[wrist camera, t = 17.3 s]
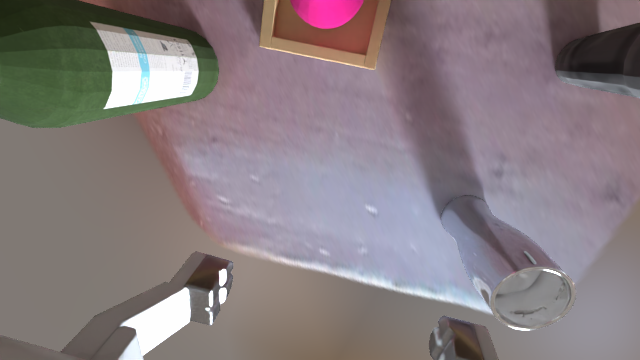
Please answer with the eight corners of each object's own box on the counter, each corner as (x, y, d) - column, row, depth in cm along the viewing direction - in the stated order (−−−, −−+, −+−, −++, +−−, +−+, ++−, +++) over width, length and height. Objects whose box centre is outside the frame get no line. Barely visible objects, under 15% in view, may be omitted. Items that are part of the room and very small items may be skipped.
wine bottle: (145, 35, 34) (-821, -131, 6) (209, 22, 33) (-603, -264, 5) (168, 105, 36) (-423, 220, 8) (228, 94, 35) (-223, 187, 7)
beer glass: (469, 247, 40) (536, 343, 26) (426, 224, 39) (470, 310, 25) (504, 207, 37) (599, 289, 23) (459, 181, 37) (528, 250, 23)
